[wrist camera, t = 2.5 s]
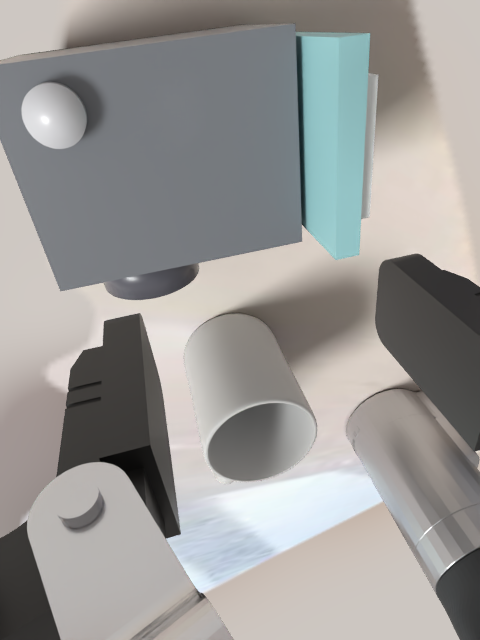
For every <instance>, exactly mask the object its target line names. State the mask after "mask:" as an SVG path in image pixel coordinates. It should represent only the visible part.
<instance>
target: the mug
mask: <svg viewBox="0 0 480 640" xmlns="http://www.w3.org/2000/svg"><path fill="white" fill-rule="evenodd" d="M184 367H185V372H186V376H187V380H188V384H189V388H190V393H191V398H192V403H193V408H194V412H195V417H196V422H197V427H198V432H199V437H200V441H201V446H202V451H203V455H204V458H205V461H206V463H207V465H208V466H209V468H210V469H211V470H212V473H213V475H214V477H215V478H216V480H217V481H218V482H220V483H221V484H230V483H232V482H233V481H235V482H256V481H262V480H266V479H269V478H272V477H275V476H277V475H280V474H282V473H284V472H286V471H287V470H289V469H291V468H292V467H294V466H295V465H296V464H298V463H299V462H300V461H301V460H302V459H303V458H304V457H305V456H306V455H307V454H308V452H309V451H310V449H311V448H312V446H313V444H314V442H315V439H316V435H317V423H316V419H315V416H314V414H313V412H312V410H311V408H310V406H309V404H308V402H307V400H306V398H305V396H304V394H303V392H302V390H301V388H300V386H299V384H298V382H297V380H296V378H295V376H294V375H293V373H292V371H291V369H290V367H289V365H288V363H287V361H286V359H285V357H284V355H283V353H282V351H281V349H280V347H279V345H278V343H277V340H276V338H275V336H274V334H273V333H272V331H271V330H270V328H269V327H268V326H267V325H266V324H265V323H264V322H262V321H261V320H259V319H258V318H256V317H253V316H250V315H247V314H235V313H234V314H226V315H221V316H218V317H215V318H213V319H211V320H209V321H207V322H206V323H204V324H203V325H201V326H200V327H199V328H198V329H197V330H196V331H195V332H194V333H193V334H192V335H191V337H190V338H189V340H188V342H187V344H186V347H185V350H184Z"/></svg>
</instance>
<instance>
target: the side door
mask: <svg viewBox="0 0 480 640" xmlns="http://www.w3.org/2000/svg"><path fill="white" fill-rule="evenodd" d="M369 48H370V33H334V32H296V59H297V91H298V124H299V156H300V189H301V221H302V225H303V226H304V227H305V228H306V229H307V230H308V231H309V232H310V233H311V234H312V236H313V237H314V238H315V239H316V240H317V241H318V242H319V243H320V244H321V245H322V246H323V247H324V248H325V249H326V250H327V251H328V252H329V253H330V254H331V256H332V257H333V258H334V259H335V260H338V259H342V258H347V257H352V256H356V255H359V247H360V227H361V219H363V218H368V217H370V203H371V187H372V170H373V154H374V138H375V122H376V106H377V90H378V75H377V74H371V73H368V68H369Z"/></svg>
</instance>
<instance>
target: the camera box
mask: <svg viewBox="0 0 480 640" xmlns="http://www.w3.org/2000/svg"><path fill="white" fill-rule="evenodd" d="M0 140H1V143H2V145H3V148H4V150H5V153H6V155H7V158H8V160H9V163H10V165H11V168H12V170H13V173H14V175H15V178H16V180H17V183H18V186H19V188H20V191H21V193H22V196H23V198H24V201H25V203H26V206H27V208H28V211H29V213H30V216H31V218H32V221H33V223H34V226H35V228H36V231H37V233H38V236H39V238H40V241H41V243H42V246H43V248H44V251H45V253H46V256H47V258H48V261H49V263H50V266H51V268H52V271H53V273H54V276H55V279H56V281H57V284H58V286H59V288H60V291H64V290H69V289H74V288H79V287H84V286H89V285H93V284H98V283H103V282H104V285H105V287H106V290H107V291H108V292H109V293H110V294H111V295H113V296H115V297H118V298H122V299H128V300H144V299H152V298H157V297H161V296H164V295H168V294H170V293H173V292H175V291H177V290H179V289H181V288H183V287H185V286H186V285H188V284H189V283H190V282H191V281H193V280H194V278H195V277H196V276H197V274H198V271H199V265H198V263H200V262H205V261H210V260H215V259H220V258H225V257H230V256H234V255H239V254H244V253H249V252H254V251H259V250H264V249H268V248H273V247H278V246H283V245H288V244H293V243H298V242H302V221H301V189H300V156H299V124H298V91H297V59H296V26H295V23H293V24H256V25H236V26H229V27H222V28H214V29H207V30H200V31H192V32H185V33H178V34H170V35H163V36H156V37H149V38H141V39H134V40H127V41H119V42H112V43H105V44H97V45H90V46H83V47H75V48H68V49H61V50H53V51H46V52H39V53H31V54H24V55H18V56H14V57H11V58H7V59H3V60H0Z"/></svg>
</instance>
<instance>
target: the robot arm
mask: <svg viewBox="0 0 480 640" xmlns="http://www.w3.org/2000/svg"><path fill="white" fill-rule="evenodd" d="M375 323H376V329H377V333H378V335H379V338H380V340H381V342H382V343H383V345H384V346H385V347H386V348H387V350H388V351H389V352H390V353H391V354H392V355H393V357H394V358H395V359H396V360H397V361H398V363H399V364H400V365H401V366H402V367H403V368H404V370H405V371H406V372H407V373H408V374H409V376H410V377H411V378H412V379H413V380H414V381H415V383H416V384H417V385H418V386H419V387H420V389H421V390H422V391H420V392H412V391H409V390H406V389H392V390H388V391H384V392H381V393H379V394H376V395H374V396H373V397H371V398H369V399H367V400H366V401H365V402H363V403H362V404H361V405H360V406H359V407H358V408H357V409H356V410H355V411H354V412H353V414H352V415H351V417H350V419H349V421H348V423H347V428H346V433H347V437H348V439H349V441H350V443H351V445H352V446H353V449H354V451H355V452H356V454H357V456H358V457H359V459H360V460H361V462H362V464H363V466H364V468H365V469H366V471H367V473H368V475H369V477H370V478H371V480H372V482H373V484H374V485H375V487H376V489H377V491H378V492H379V494H380V496H381V498H382V499H383V501H384V503H385V505H386V506H387V508H388V510H389V512H390V513H391V515H392V517H393V519H394V521H395V522H396V524H397V526H398V528H399V529H400V531H401V533H402V535H403V537H404V538H405V540H406V542H407V544H408V545H409V547H410V549H411V551H412V552H413V554H414V556H415V558H416V559H417V561H418V563H419V565H420V566H421V568H422V570H423V572H424V573H425V575H426V577H427V579H428V580H429V582H430V584H431V586H432V588H433V589H434V591H435V593H436V594H437V596H438V598H439V600H440V601H441V603H442V605H443V607H444V608H445V610H446V612H447V614H448V616H449V618H450V620H451V622H452V624H453V627H454V629H455V631H456V633H457V635H458V637H459V639H460V640H480V471H479V470H478V469H477V467H478V464H479V456H478V455H477V453H476V452H475V451H478V450H480V287H479V286H477V285H476V284H474V283H473V282H472V281H470V280H469V279H467V278H464V277H462V276H459V275H456V274H454V273H451V272H448V271H446V270H441V269H440V268H438V267H437V266H436V265H434V264H433V263H431V262H430V261H429V260H427V259H426V258H425V257H423V256H422V255H420V254H412V255H407V256H403V257H398V258H394V259H389V260H385V261H383V262H382V264H381V266H380V269H379V278H378V291H377V303H376V316H375ZM68 390H69V392H68V393H67V401H66V406H67V409H65V416H64V424H63V432H62V440H61V447H60V455H59V462H58V471H57V476H56V478H55V479H54V480H53V481H51V482H50V483H49V484H48V485H47V486H46V487H45V488H44V489H43V490H42V492H41V493H40V494H39V496H38V497H37V499H36V500H35V502H34V503H33V505H32V508H31V510H30V512H29V516H28V520H27V521H26V522H25V523H23V524H22V525H21V526H19V527H18V528H17V529H15V530H14V531H12V532H10V533H9V534H7V535H5V536H4V537H2V538H0V640H234V639H233V637H232V636H231V634H230V633H229V631H228V629H227V628H226V626H225V624H224V623H223V621H222V620H221V618H220V617H219V615H218V613H217V612H216V610H215V609H214V608H213V606H212V605H211V603H210V602H209V600H208V599H207V598H206V597H205V595H204V594H203V593H199V592H198V590H197V589H196V588H195V586H194V585H193V583H192V582H191V580H190V578H189V577H188V575H187V574H186V572H185V570H184V569H183V567H182V565H181V564H180V562H179V560H178V559H177V557H176V555H175V554H174V552H173V550H172V549H171V547H170V545H169V544H168V542H167V540H166V538H169V537H173V536H176V535H180V534H181V532H180V524H179V516H178V508H177V501H176V493H175V485H174V478H173V470H172V462H171V454H170V447H169V439H168V431H167V424H166V416H165V408H164V400H163V394H162V388H161V383H160V379H159V375H158V371H157V367H156V364H155V360H154V357H153V353H152V350H151V346H150V343H149V339H148V336H147V332H146V329H145V325H144V322H143V319H142V316H141V314H140V313H138V314H134V315H129V316H125V317H120V318H115V319H111V320H106V321H104V333H103V346H101V347H96V348H92V349H88V350H83V352H82V353H81V355H80V356H79V358H78V359H77V361H76V362H75V364H74V365H73V366H72V368H71V370H70V378H69V385H68Z"/></svg>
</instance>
